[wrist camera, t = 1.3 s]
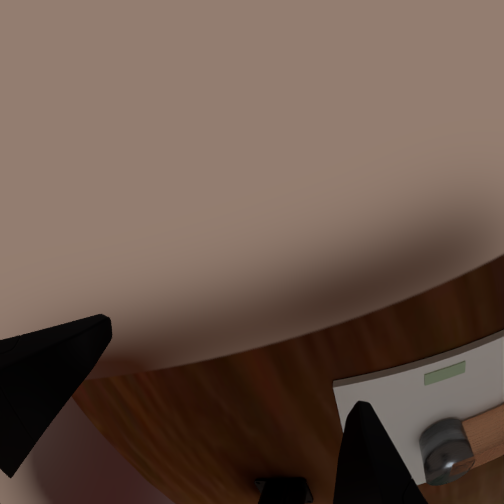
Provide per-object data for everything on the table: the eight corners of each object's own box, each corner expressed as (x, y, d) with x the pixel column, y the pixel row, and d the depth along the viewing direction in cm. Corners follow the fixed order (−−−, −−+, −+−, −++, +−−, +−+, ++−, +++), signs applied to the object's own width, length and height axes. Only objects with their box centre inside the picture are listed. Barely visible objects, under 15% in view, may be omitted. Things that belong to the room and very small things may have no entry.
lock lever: (418, 455, 22) (423, 490, 17) (419, 427, 21) (427, 464, 16) (515, 418, 18) (530, 446, 13) (524, 386, 17) (543, 414, 12)
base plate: (499, 448, 20) (502, 454, 19) (356, 491, 26) (356, 498, 25) (527, 318, 17) (533, 323, 16) (333, 380, 24) (332, 389, 22)
